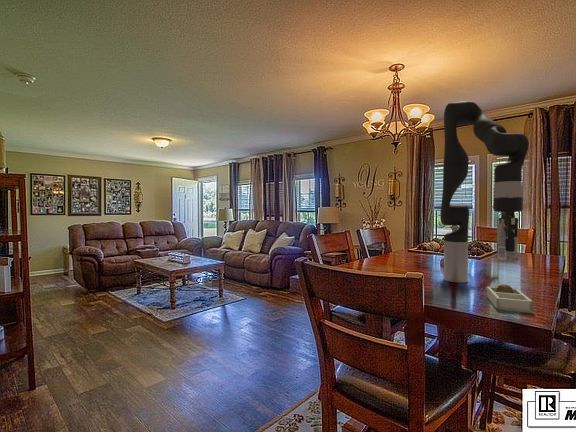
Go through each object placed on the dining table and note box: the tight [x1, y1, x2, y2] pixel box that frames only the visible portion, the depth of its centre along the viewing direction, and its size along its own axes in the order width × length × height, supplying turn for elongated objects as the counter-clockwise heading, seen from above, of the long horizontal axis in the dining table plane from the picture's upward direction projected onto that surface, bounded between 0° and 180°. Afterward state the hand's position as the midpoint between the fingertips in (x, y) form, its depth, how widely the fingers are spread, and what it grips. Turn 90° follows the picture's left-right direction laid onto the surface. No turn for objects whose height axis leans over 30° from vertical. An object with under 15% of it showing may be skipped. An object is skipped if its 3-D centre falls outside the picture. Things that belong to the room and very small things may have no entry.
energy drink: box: [496, 222, 519, 263], centre depth 98 cm, size 5×5×12 cm
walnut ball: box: [496, 284, 514, 294], centre depth 105 cm, size 5×5×5 cm
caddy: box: [486, 286, 534, 314], centre depth 101 cm, size 16×9×4 cm, turn 157°
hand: (507, 250), depth 98 cm, fingers closed on energy drink, 5 cm apart
